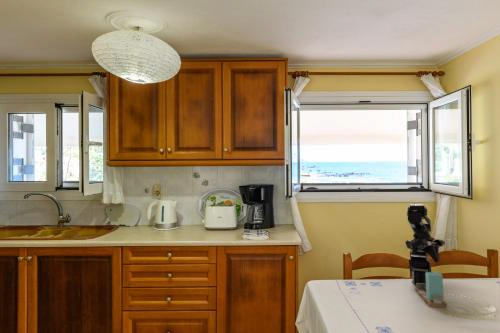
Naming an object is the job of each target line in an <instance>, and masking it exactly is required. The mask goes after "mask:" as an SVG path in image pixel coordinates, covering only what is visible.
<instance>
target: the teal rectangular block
mask: <svg viewBox="0 0 500 333" xmlns="http://www.w3.org/2000/svg"><path fill="white" fill-rule="evenodd" d="M443 280H444V278H443V274H441V273H440V272H435V271H434V272H432V271H431V272H426V297H427V298H428V299H429V300H430V301H433V295H435V296H441V297H442V301H444V282H443Z"/></svg>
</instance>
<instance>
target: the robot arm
mask: <svg viewBox="0 0 500 333" xmlns="http://www.w3.org/2000/svg"><path fill="white" fill-rule="evenodd" d="M406 216H407V221H408V223H409V226H410V228H411V230H412V232H413V235H412V236H413V239H411V240H409V239H407V240H405V242H404V243H405V245H406V248H407V249H410V251H411V254H410V257H409V259H408V263H409V266H408V267H409V272H411V275H412V276H411V277H412V279H411V283H412V284H413V285H414V287H416V283H426V272H432V264H431V262H430V260H429V259H428V256H429V257H430V258H431V259H432V260H433V262H435V263H436V264H437V263H438V264H439V263H440V257H439V256H440V253H439V252H440V248H441V247H443V246H446V243H445V241H444V240H443V239H438V238H437V239H435V238H434V237H432V236H431V232H432V222H431V219H430V218H429V217H428V209H427V207H426V206H425V205H424V204H409V206H407V212H406ZM424 220H425V222H424Z"/></svg>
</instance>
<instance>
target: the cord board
mask: <svg viewBox="0 0 500 333" xmlns="http://www.w3.org/2000/svg"><path fill="white" fill-rule="evenodd" d="M414 291H415V293H416V294H418V296H419V297H420V298H421V299H422V300H423V301H424V303H425V304H426V305H427V306H428V307H431V308H442V309H443V308H444V307H447V308H448V303H447V302H446V301H442V297H441V296H435V295H433V301H430V300H429V299H428V298H427V297H426V283H416V286H414ZM444 309H445V308H444Z"/></svg>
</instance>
